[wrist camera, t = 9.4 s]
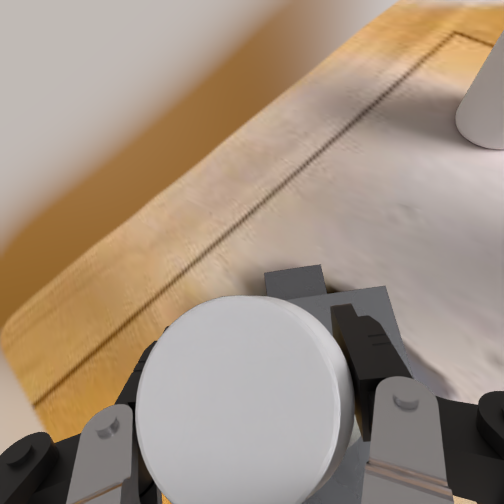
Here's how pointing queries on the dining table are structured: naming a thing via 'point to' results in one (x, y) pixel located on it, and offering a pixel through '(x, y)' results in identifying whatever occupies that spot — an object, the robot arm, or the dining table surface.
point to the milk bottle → (485, 103)
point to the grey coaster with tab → (318, 305)
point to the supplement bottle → (244, 404)
